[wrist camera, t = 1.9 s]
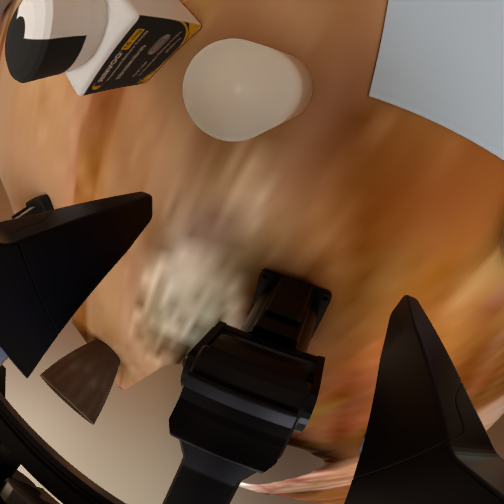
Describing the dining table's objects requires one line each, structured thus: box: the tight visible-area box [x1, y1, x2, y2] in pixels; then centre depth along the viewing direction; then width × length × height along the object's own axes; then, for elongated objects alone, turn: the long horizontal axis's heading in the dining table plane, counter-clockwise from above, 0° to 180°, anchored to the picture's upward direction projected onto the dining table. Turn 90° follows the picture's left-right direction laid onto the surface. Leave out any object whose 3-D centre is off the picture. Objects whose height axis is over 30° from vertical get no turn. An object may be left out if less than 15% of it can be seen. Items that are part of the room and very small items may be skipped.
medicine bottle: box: [5, 0, 201, 96], centre depth 12 cm, size 7×7×12 cm
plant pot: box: [40, 340, 120, 424], centre depth 49 cm, size 15×15×16 cm
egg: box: [183, 38, 313, 142], centre depth 14 cm, size 5×5×7 cm
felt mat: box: [369, 0, 504, 160], centre depth 10 cm, size 12×12×1 cm
